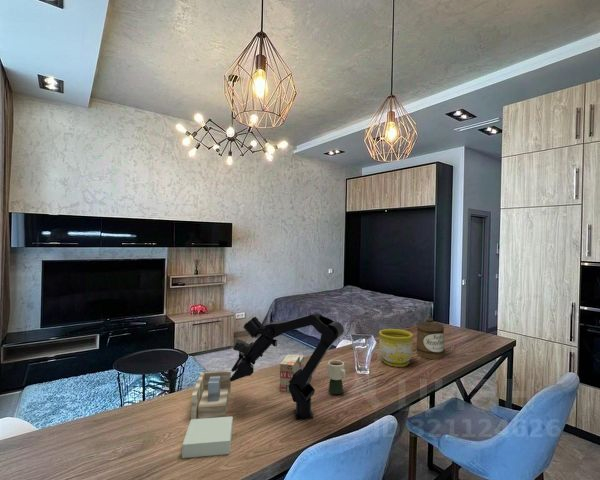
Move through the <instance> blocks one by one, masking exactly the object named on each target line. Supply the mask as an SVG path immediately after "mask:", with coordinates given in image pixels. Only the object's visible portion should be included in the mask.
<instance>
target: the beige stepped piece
mask: <svg viewBox="0 0 600 480" xmlns="http://www.w3.org/2000/svg"><path fill="white" fill-rule="evenodd" d="M216 376H220V397H219V401H210V402H208V382H209V379H210V377H216ZM231 377H232V371H231V370H229V369H226V370H212V371H211V370H210V371H201V372H200V374H199V376H198V379H197V381H196V384H195V386H194V389H193V391H192V394H191V416H190V418H191V419H204V418H217V417H227V411H228V410H227V409H228V402H229V393H230V394H231V388H232V387H231V385H232V384H231V383H232V381H230V378H231ZM191 419H190V420H191Z"/></svg>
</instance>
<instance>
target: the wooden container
mask: <svg viewBox="0 0 600 480" xmlns="http://www.w3.org/2000/svg"><path fill="white" fill-rule="evenodd" d="M426 320H427V321H419V322H417V324H416V328H417V329H416V355H417V354H418V355H417V356H418V357H421V358H423V357H424V359H427V358H429V359H428V360H441V359H444V358H445V336H444V335H445V332H444V331H445V330H444V329H445V327H444V324H443V323H439V322H434V319H433V318H432V317H427V319H426Z"/></svg>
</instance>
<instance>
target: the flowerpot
mask: <svg viewBox="0 0 600 480" xmlns="http://www.w3.org/2000/svg"><path fill="white" fill-rule="evenodd" d="M378 335H379V341H378V342H379V343H378V350H379V353H380V356H381V357H382V358H381V360H382V361H383V363H384V364H385V365H387V366H389V367H393V366H394V367H395V368H404V367H407V366H408V365H409V364H410V359H411V358H412V357H413V356H412V355H413V353H414V352H413V350H414V348H413V347H414V346H413V337H414V335H413V333H412V332H411V331H408V330H405V329H399V328H386V329H381V330H379V332H378Z"/></svg>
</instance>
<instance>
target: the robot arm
mask: <svg viewBox="0 0 600 480" xmlns="http://www.w3.org/2000/svg"><path fill="white" fill-rule="evenodd" d="M310 326H312V327H314V329H315V330H316V331H317V332H318V333H319V334H320V339H319V343H318V344H317V346H316V347H315V349H314V351H313V352H312V353H311V356H310V357H309V359H308V360H307V361H306V363H305V364H304V368H303V370H302V369H299V370H298V371H297V372H295V373H294V374H293V376H292V379H291V380H290V381H289V383H290V384H289V386H288V388H289V391H290V392H289V393H290V395H291V398H292V401H293V402H294V403H295V409H294V410H293V412H294V416H295V419H296V420H298V421H299V420H309V419H311V420H312V419H314V414H313V412H312V397H313V396H314V395H315V391H316V389H315V388H314V387H313V385H312V384H311V382H312V377H313V374H314V373H315V371H316V370H317V368H318V366H319V365H320V363H321V362H322V360H323V359H324V357H325V355H326V354H327V352H328V351H329V349H330V348H331V346H332V345H334V344H335V343H336V341H337V340H338V339H340V337H341V336H342V335H343V334H344V332H345V330H344V326H343V325H342V323H341V322H339V321H336V320H333V319H331V318H328V317H327V316H324V315H322V314H320V313H318V312H313V313H310V314H308V315H304V316H301V317H296V318H293V319H290V320H275V321H273V322H270V323H268V324H265V325H263V324H262V322H260V321H259V319H258V317H257V316H254V317H252V318H251V319H249V321H247V322H246V323H245V324H244V325H243V330H245V332H246V333H247V334H248V335H249V336H250V338H251V339H254V338H255V339H256V340H255V341H252V342H249V343H248V342H246V341H243V340H241V339H238V338H236V340H235V342H234V344H233V347H232V349H233V351H237V352H238V358H237V360H236V362H235V363H234V364H233V366H232V368H231V373H233V374H231V378H230V381H231V382H234V381H237V380H239V379H242V378H245V377H250V376H252V375H253V374H254V366H255V364H256V361H257V360H258V359H260V358H262V357H263V356H264V354H265V352H266V351H267V350H268V349H269V348H270V346H273V347H275V348H276V347H278V339H277V338H278V337H279V336H281V335H282V334H283V335H284V334H285V333H287V332H290V331H293V330H294V331H295V330H298V329H301V328H304V327H310ZM275 338H276V339H275Z"/></svg>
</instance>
